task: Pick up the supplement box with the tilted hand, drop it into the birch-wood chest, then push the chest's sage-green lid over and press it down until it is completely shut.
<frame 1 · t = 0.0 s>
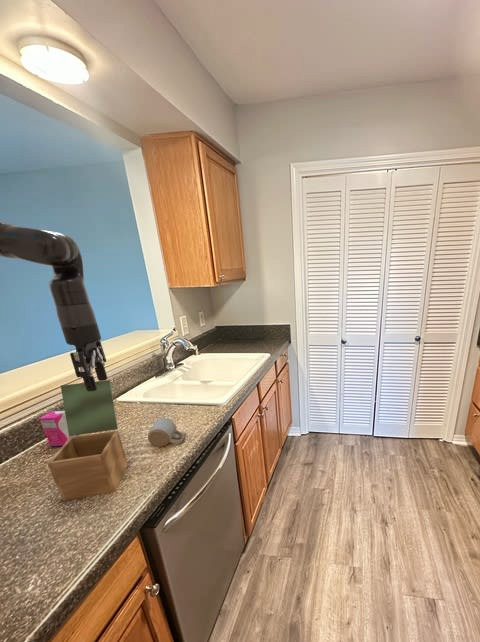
hand: (98, 385, 85), 28 cm above the countertop, tool pointing down, fingers open, 8 cm apart
lid: (89, 407, 92), point 20 cm above the countertop, hinge at 110.0°
ceramic mug: (168, 442, 113), on the countertop
chest: (99, 484, 91), on the countertop
supplement box: (64, 443, 115), on the countertop
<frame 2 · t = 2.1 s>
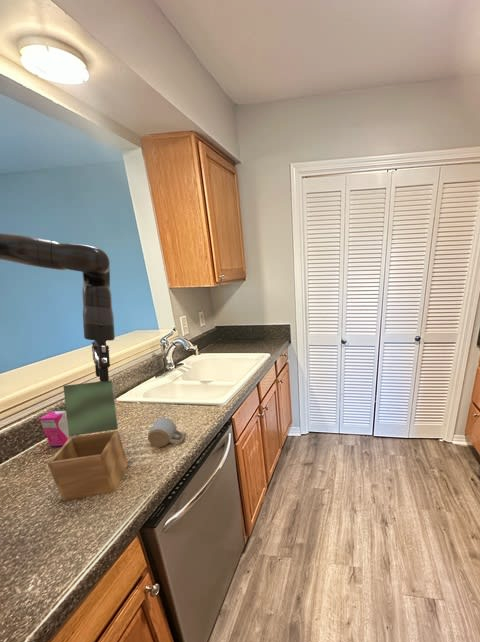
hand: (102, 378, 96), 26 cm above the countertop, tool pointing down, fingers open, 8 cm apart
lid: (91, 407, 93), point 20 cm above the countertop, hinge at 116.0°, touching gripper
everything else where it was.
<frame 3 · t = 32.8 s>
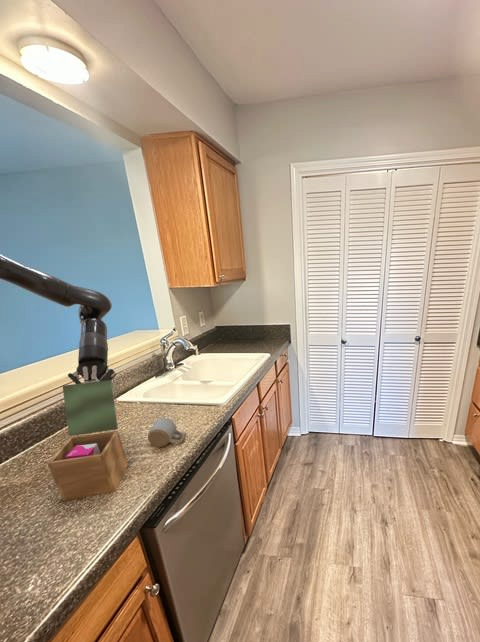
hand: (91, 401, 94), 21 cm above the countertop, tool tilted 45°, fingers closed
lid: (90, 407, 93), point 20 cm above the countertop, hinge at 114.0°, touching gripper
supplement box: (94, 485, 90), point 1 cm above the countertop, touching chest
everything else where it was.
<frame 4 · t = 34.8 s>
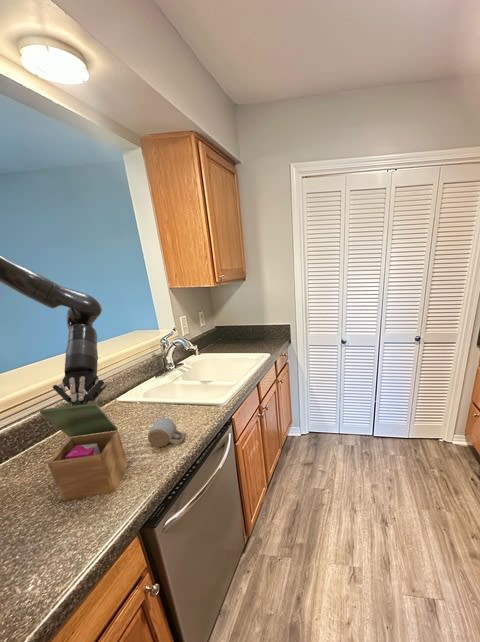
hand: (78, 416, 85), 21 cm above the countertop, tool tilted 45°, fingers closed
lid: (82, 420, 86), point 19 cm above the countertop, hinge at 53.3°, touching gripper
everything else where it was.
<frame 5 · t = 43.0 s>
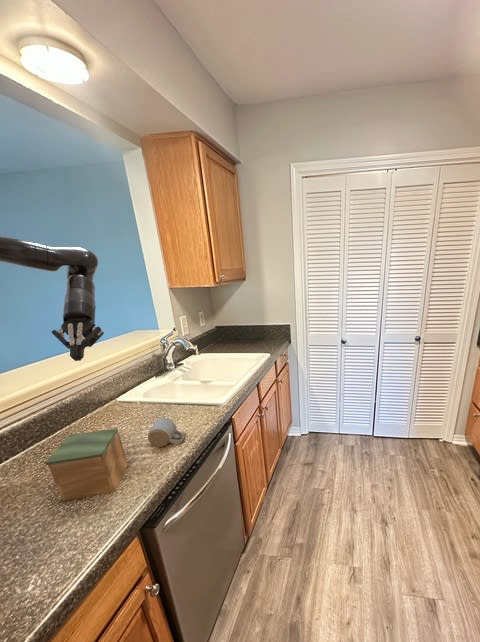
hand: (76, 359, 88), 34 cm above the countertop, tool tilted 45°, fingers closed
lid: (84, 445, 86), point 13 cm above the countertop, hinge at -0.2°, touching chest
everything else where it was.
at the end: supplement box inside the target area in the chest (1.1 cm from its centre), point 0.6 cm above the chest's base; lid at +0° (first picture: +110°) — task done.
